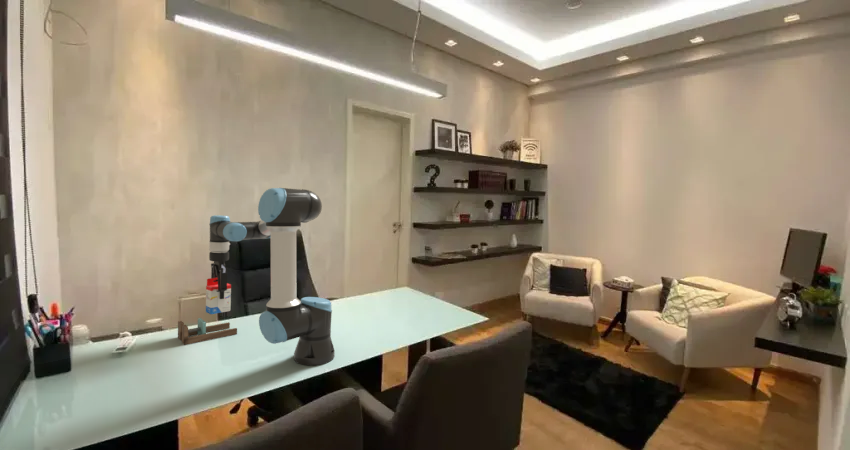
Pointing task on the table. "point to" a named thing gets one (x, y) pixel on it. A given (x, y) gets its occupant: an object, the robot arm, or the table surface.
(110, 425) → the table surface
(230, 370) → the table surface
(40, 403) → the table surface
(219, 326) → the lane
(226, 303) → the ink box
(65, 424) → the table surface
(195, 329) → the pusher
